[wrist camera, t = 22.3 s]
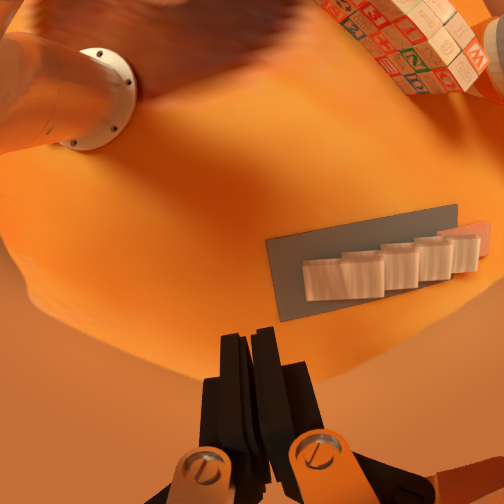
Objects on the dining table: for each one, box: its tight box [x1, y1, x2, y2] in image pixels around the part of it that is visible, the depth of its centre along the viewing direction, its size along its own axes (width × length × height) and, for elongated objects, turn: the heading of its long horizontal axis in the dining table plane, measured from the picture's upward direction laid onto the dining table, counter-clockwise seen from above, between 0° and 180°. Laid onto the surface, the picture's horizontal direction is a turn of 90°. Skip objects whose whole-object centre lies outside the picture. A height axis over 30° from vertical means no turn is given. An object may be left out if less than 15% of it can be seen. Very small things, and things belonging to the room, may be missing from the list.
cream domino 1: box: [302, 256, 384, 301], centre depth 39 cm, size 2×5×10 cm
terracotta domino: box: [436, 221, 491, 257], centre depth 40 cm, size 2×5×10 cm
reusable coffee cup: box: [465, 13, 504, 106], centre depth 25 cm, size 12×13×15 cm
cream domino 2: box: [341, 247, 419, 290], centre depth 39 cm, size 2×5×10 cm
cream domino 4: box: [413, 234, 481, 273], centre depth 39 cm, size 2×5×10 cm
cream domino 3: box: [380, 240, 453, 281], centre depth 39 cm, size 2×5×10 cm
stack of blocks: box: [314, 0, 491, 95], centre depth 24 cm, size 21×6×12 cm, turn 48°
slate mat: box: [265, 204, 458, 322], centre depth 42 cm, size 28×12×1 cm, turn 101°
